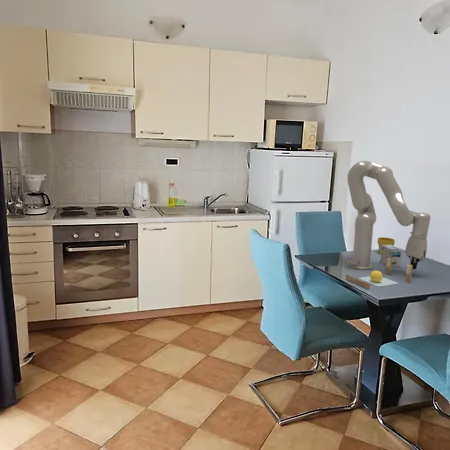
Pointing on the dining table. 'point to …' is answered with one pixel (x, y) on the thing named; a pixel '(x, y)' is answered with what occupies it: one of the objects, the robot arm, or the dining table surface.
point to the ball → (376, 276)
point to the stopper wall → (358, 281)
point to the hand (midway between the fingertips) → (412, 268)
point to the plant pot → (385, 242)
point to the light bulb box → (391, 255)
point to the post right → (408, 273)
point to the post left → (388, 266)
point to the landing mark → (382, 283)
